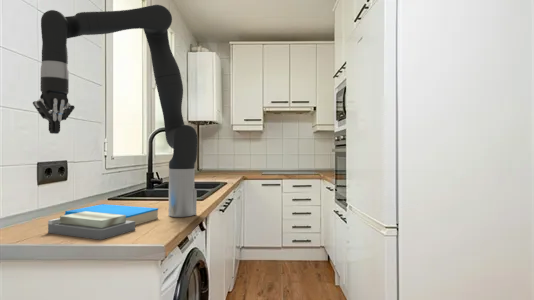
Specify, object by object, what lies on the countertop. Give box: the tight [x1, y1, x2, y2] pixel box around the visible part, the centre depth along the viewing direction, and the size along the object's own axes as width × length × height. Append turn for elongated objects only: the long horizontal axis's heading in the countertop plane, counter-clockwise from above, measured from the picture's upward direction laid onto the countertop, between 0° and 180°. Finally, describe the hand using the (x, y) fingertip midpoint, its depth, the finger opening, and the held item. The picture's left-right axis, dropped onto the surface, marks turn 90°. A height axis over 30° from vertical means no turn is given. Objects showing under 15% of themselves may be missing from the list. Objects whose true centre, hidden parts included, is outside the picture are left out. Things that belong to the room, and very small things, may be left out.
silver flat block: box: [59, 211, 126, 228], centre depth 105 cm, size 9×16×2 cm, turn 69°
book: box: [64, 203, 159, 226], centre depth 122 cm, size 17×4×25 cm
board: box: [47, 217, 136, 241], centre depth 105 cm, size 13×20×4 cm, turn 69°
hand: (54, 133), depth 111 cm, fingers closed
